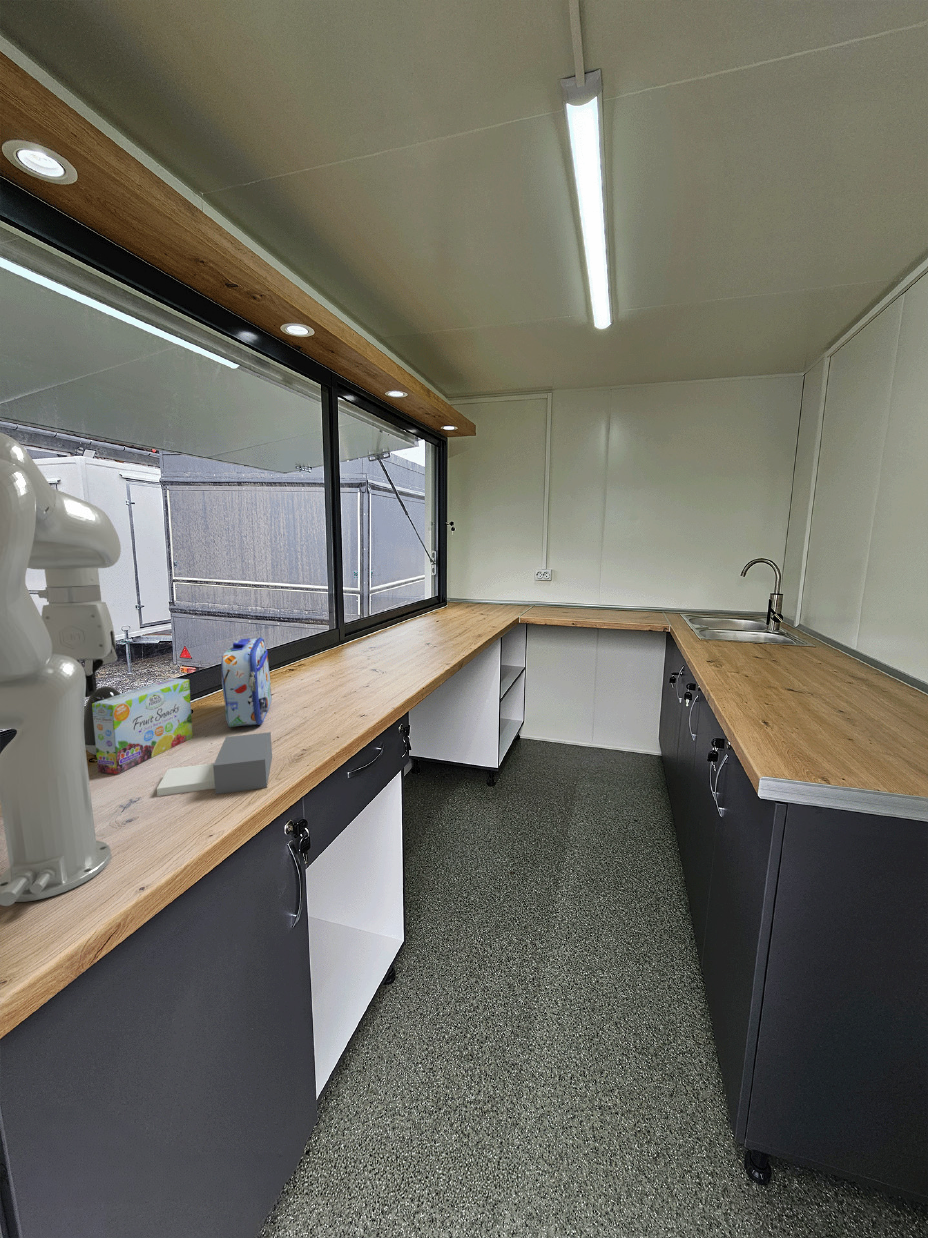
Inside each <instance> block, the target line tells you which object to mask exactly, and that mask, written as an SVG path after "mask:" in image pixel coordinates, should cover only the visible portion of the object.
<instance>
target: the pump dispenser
mask: <svg viewBox="0 0 928 1238" xmlns="http://www.w3.org/2000/svg"><path fill="white" fill-rule="evenodd" d="M120 694H121V692H120V691H119V690H117V689H116V688H114V687H111V686H101V687H99V688H98V687H97V689H96V690H95V693H94V694H92V695H91V696H89V697H88V699H87V701H86V703H85V705H84V738H85V748H86V752H88V753H90V754H92V755H93V756H97V754H96V743H95V732H94V721H93V711H92V704H93V703H95V702H98V701H101V700H104V699H108V698H111V697H114V696H117V695H120Z"/></svg>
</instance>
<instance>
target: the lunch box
mask: <svg viewBox="0 0 928 1238" xmlns="http://www.w3.org/2000/svg"><path fill="white" fill-rule="evenodd" d="M268 654H269V653H268V650H267V649H266V644H265V639H264V638H263V637H258V638H241V639H236V640H235V641H234V642H233V643H232V645H230V646H229V648H228V649H227V650H226V651H224V652H223V655H222V657H221V661H220V662H221V666H220V667H221V685H222V686H221V687H222V693H223V694H222V695H223V701H224V706H225V707H224V709H225V713H224V714H225V721H226V723H227V726H228V728H233V727H243V726H256V725H258V726H260V725H262V724H263V723H264V721H265V719H266V716H267V714H268V712H269V710H270V707H271V703H272V700H273V699H272V688H271V675H270V667H269V658H268Z"/></svg>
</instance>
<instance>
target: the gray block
mask: <svg viewBox="0 0 928 1238" xmlns="http://www.w3.org/2000/svg"><path fill="white" fill-rule="evenodd" d="M271 733H272V732H261V733H252V734H243V735H242V734H239V735H232V736H226V737H225V738H224V740H223V743H222V744H221V748H220V749H219V752H218V753H217V756H216V758H215V761H214V762H213V763H214V765H213V769H214V782H215V788H214V792H215V793H214V795H221V794H230V793H235V792H245V791H251V790H252V791H253V790H259V789H264V788H265V789H266V788H268V784H269V776H270V772H271V767H272V761H273V750H272V749H273V748H272V747H273V746H272V745H273V744H272V734H271Z"/></svg>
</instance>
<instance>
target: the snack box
mask: <svg viewBox="0 0 928 1238" xmlns="http://www.w3.org/2000/svg"><path fill="white" fill-rule="evenodd" d="M92 711H93V721H94V732H95V743H96V754H97V755H96V765H97V772H98V773H103V774H112V775H120V774H121V773H124V772H126V771H128V770H129V769H130V770H131V768H134V767H136V766H137V765H139V764H142V763H144V762H146V761H149V760H150V759H153V758H154V757H156V756H158V755H160V754H162V753H165V752H166V751H168V750H170V749H173V748H175V747H177V746H179V745H181V744H183V743H185V742H187V741H189V740H191V739H193V738H194V737H193V734H194V733H193V723H192V721H193V720H192V719H193V718H192V717H193V716H192V704H191V689H190V679H188V678H187V679H186V678H172V677H171V678H168V679H164V680H161V681H158V682H155V683H152V684H149V685H145V686H143V687H139V688H136V689H134V690H130V691H127V692H124V693H120V695H117V696H114V697H111V698H108V699H104V700H101V701H98V702H95V703H93V704H92Z"/></svg>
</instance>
